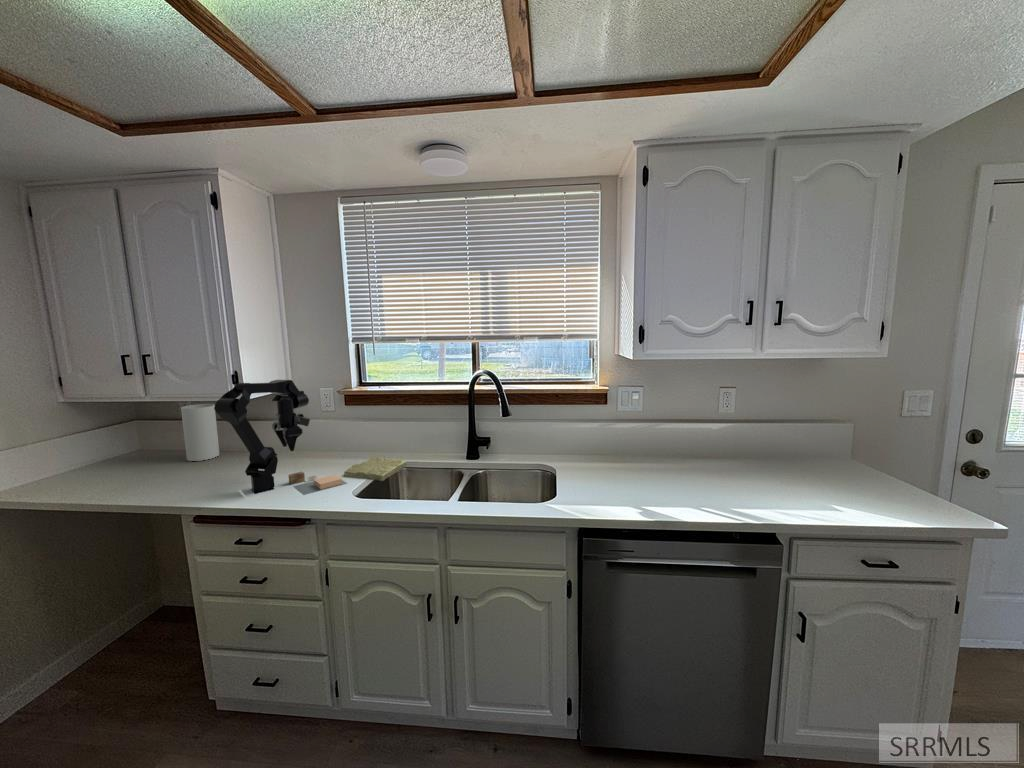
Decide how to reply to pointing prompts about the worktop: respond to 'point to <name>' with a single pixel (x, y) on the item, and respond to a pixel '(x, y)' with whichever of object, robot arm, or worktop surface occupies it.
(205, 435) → the cylinder vase
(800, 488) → the worktop surface
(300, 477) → the grey-capped brown block
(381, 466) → the decorative tile
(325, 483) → the terracotta tile
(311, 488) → the slate mat
